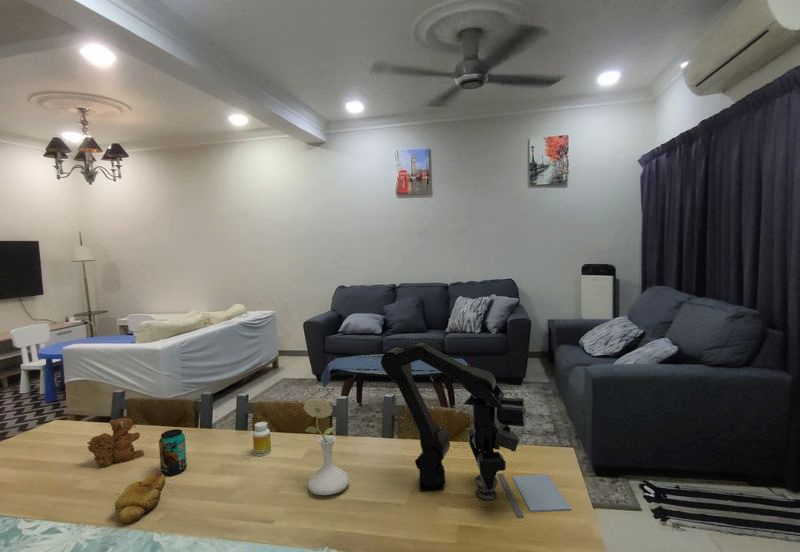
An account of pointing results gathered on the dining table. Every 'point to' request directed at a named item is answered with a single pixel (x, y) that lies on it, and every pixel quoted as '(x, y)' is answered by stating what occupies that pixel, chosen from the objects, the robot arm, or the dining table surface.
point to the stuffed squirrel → (115, 444)
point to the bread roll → (140, 497)
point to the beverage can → (172, 452)
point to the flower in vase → (325, 454)
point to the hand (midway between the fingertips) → (486, 480)
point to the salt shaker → (485, 488)
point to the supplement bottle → (261, 439)
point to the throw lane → (535, 494)
